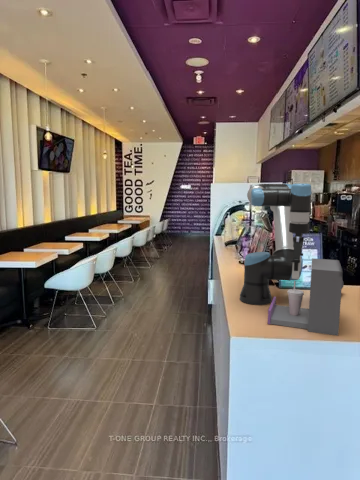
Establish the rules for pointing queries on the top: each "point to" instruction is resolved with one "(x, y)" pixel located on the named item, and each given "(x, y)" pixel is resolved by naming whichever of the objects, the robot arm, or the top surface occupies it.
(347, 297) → the top surface
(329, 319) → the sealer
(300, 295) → the smoothie
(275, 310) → the sealer tray
